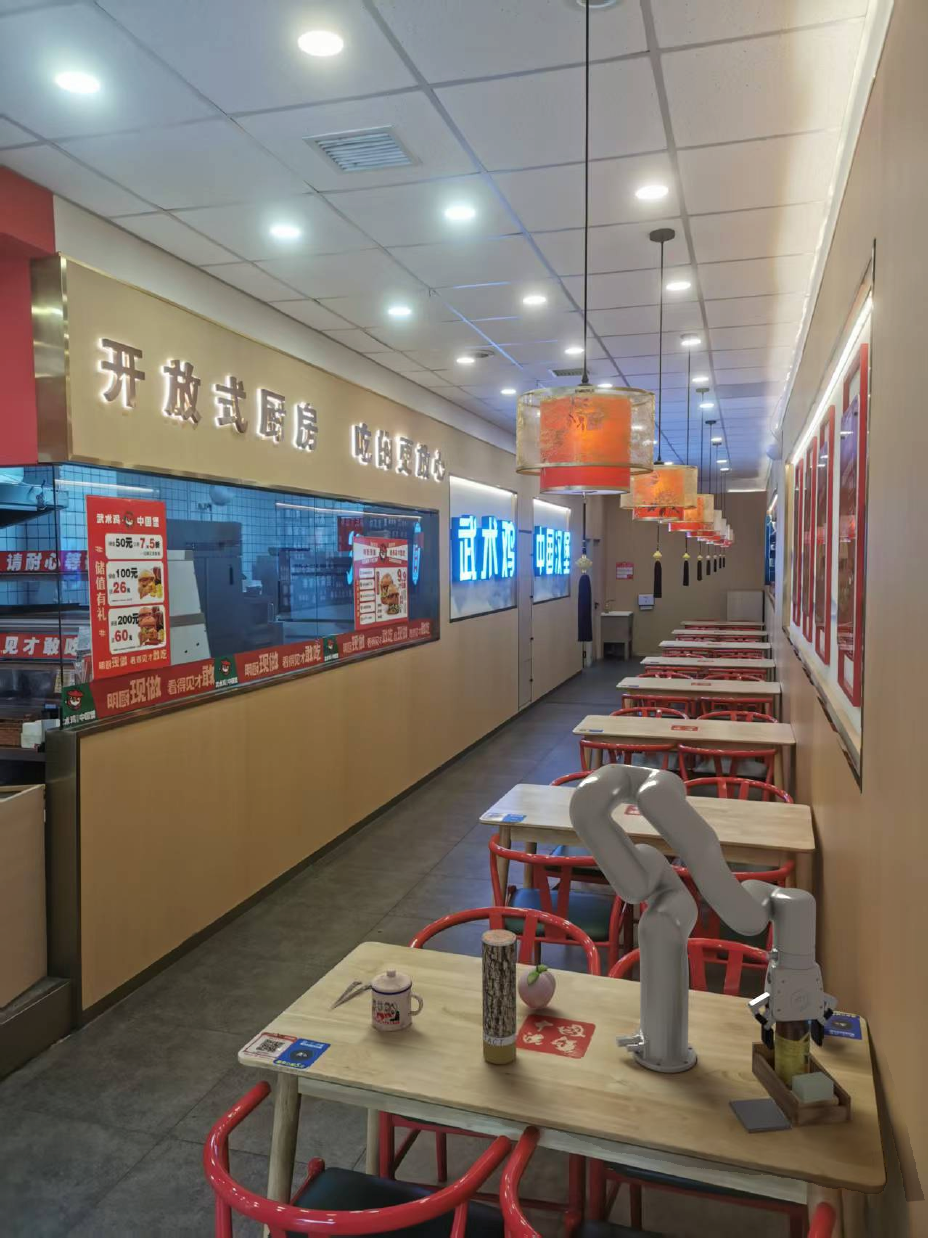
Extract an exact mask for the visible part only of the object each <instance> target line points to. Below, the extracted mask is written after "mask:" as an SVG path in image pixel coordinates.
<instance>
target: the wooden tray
mask: <svg viewBox="0 0 928 1238" xmlns="http://www.w3.org/2000/svg"><path fill="white" fill-rule="evenodd" d="M751 1047H752V1048H751V1052H752V1053H751V1072H752V1074H753V1075H754V1076H755V1077H756V1079H757V1080H758V1081H759V1083H760V1085H762V1087H763V1088H764V1089H765V1091H766V1092H767V1093H768V1095H769V1096H770V1098H771V1099H772V1100H773V1102H774V1103H775V1104H776V1106H777V1107H778V1108H779V1109H780V1111H781V1112H782V1113H783V1115H784V1116H785V1117H786V1119H787V1120H788V1121H789V1123H790V1124H791V1126H792V1127H802V1126H812V1125H813V1126H816V1125H825V1124H837V1123H838V1124H840V1123H847V1122H848V1123H849V1122H851V1117H852V1116H851V1113H852V1112H851V1111H852V1097H851V1095H850V1094H848V1092H847V1091H846V1090H845V1089H844V1088H843V1087H842V1086H841V1084H839V1082H838V1081H837V1080H836V1079H835V1078H834V1077H833V1076H832V1075H831V1074H830V1072H828V1070H827V1069H826V1068H825V1067H824V1066H823V1065H822V1064H821V1062H820V1061H818V1059H817V1058H816V1057H815V1056H814V1055H813V1054H812V1053H811V1052H810V1073H815V1072H823V1073H824V1074H825V1075H826V1076H827V1077H828V1078H829V1079H830V1080H832V1081H833V1082H834V1089H833V1093H834V1094H835V1095H836V1097H837V1098H838V1099H839V1106H834V1107H822V1108H810V1109H798V1104H799V1101H798V1100H797V1099H796V1098H795V1096H794V1095H793V1094H792V1093H791V1092H790V1090H789V1089H788V1088H787V1087H786V1085H785V1084H784V1083H783V1082H782V1080H781V1079H780V1078H779V1077H778V1075H777V1074H776V1073H775V1039H774V1049H773V1050H769V1049H768V1048H767V1046H766V1045H765V1044H764V1043H763V1042H762V1040H760V1041H752V1043H751Z"/></svg>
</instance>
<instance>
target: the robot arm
mask: <svg viewBox="0 0 928 1238" xmlns="http://www.w3.org/2000/svg"><path fill="white" fill-rule="evenodd" d="M687 790H688V789H687V786H686V784H685V782H684V780H683V779H682V778H681V777H680V776H679V775H677V774H676V773H674V772H673V771H669V770H665V769H660V768H658V769H657V768H652V767H644V766H638V765H637V766H636V765H630V764H624V763H623V764H621V763H609V764H605V765H603V766H601V767H599V768H598V769H596V770H594V771H593V772H592V773H590V774H588V775H587V776H586V777H585V778H583V779H582V780H581V781H580V783H578V785H577V787H576V788H575V790H574V792H573V793H572V796H571V798H570V801H569V806H568V807H569V809H568V814H569V820H570V822H571V826H572V828H573V830H574V832H575V833H576V834H577V836H578V838H579V839H580V841H581V842H582V843H583V845H584V846H585V848H586V849H587V851H588V852H589V854H590V855H591V856H592V858H593V860H594V861H595V863H596V864H597V866H598V867H599V869H600V871H601V872H602V874H603V875H604V877H605V879H606V880H607V881H608V882H609V884H610V886H611V887H612V888H613V890H614V891H615V893H616V894H617V896H618V897H619V898H620V899H621V900H622V901H624V902H626V903H627V904H631V905H638V904H641V903H643V902H644V903H645V904H646V906H647V907H646V908H645V909H644V911H643V912H642V914H641V915H640V918H639V922H638V926H637V942H638V950H639V980H640V981H639V982H640V985H639V986H640V989H639V990H640V991H639V992H640V994H639V995H640V996H639V998H640V999H639V1001H640V1002H639V1004H640V1005H639V1006H640V1008H639V1009H640V1010H639V1011H640V1013H639V1014H640V1015H639V1016H640V1017H639V1018H640V1019H639V1022H640V1023H639V1025H640V1026H639V1028H635V1033H632V1034H631V1036H630V1035H629V1036H626V1035H625V1036H623V1035H621V1036H616V1045H617V1047H618V1048H626V1052H627V1053H632V1055H633V1056H632V1057H633V1058H634V1059H635V1061H637V1063H639V1065H641V1066H643V1067H645V1068H646V1069H650V1070H652V1071H656V1072H659V1073H668V1074H669V1073H671V1074H673V1073H680V1072H684V1071H687V1070H689V1069H691V1068H692V1067H693V1066H694V1065H695V1063H696V1062H697V1052H696V1050H695V1048H694V1047H693V1046H692V1044H691V1043H689V1005H690V1004H689V1002H690V1001H689V994H690V993H689V991H690V990H689V987H690V986H689V982H690V981H689V977H690V976H689V975H690V974H689V971H690V970H689V959H688V939H689V937H690V935H691V933H692V931H693V929H694V927H695V925H696V922H697V920H698V915H699V913H698V912H699V911H698V906H697V904H696V900H695V899H694V897H693V895H692V894H691V892H690V890H688V887H687V886H686V885H685V883H684V882H683V881H682V879H681V877H680V876H679V875H678V874H677V872H676V870H675V869H674V868H673V866H672V865H671V864H670V863H671V862H669V860H668V859H667V858H666V856H665V855H664V854H663V853H662V852H661V851H660V850H659V849H657V848H656V847H654V846H652V845H650V844H646V843H637V844H634V842H633V841H632V840H631V838H630V837H629V835H628V834H627V832H626V831H625V830H624V828H623V827H622V826H621V825H620V824H619V823H618V822H617V821H615V819H614V818H613V816H612V813H613V812H614V810H615V809H616V808H617V807H619V806H621V804H626V805H633V806H636V807H637V810H638V811H639V813H640V814H641V815H642V817H643V818H644V819H645V820H646V821H647V822H648V823H649V824H650V826H652V828H653V829H654V830H655V831H656V832H657V833H658V834H659V835H660V836H661V837H662V839H663V840H664V841H665V842H666V843H667V844H668V845H669V846H670V847H671V849H672V850H673V851H674V852H675V853H676V855H678V856H679V858H680V859H681V860H682V862H683V863H684V864H685V866H686V869H687V872H688V873H689V875H690V877H691V879H692V880H693V882H694V884H695V886H696V888H697V889H698V891H699V893H700V894H701V895H702V897H703V899H704V900H705V901H706V902H707V903H708V905H709V906H710V907H711V908H712V909H713V911H714V912H715V913H716V914H717V915H718V917H720V918H721V920H722V921H724V923H725V924H726V925H727V926H728V927H729V928H731V929H732V930H734V931H735V932H736V933H738V934H741V935H743V936H746V937H747V936H749V937H751V936H756V935H759V934H760V933H762V932H763V931H764V930H765V929H766V928H767V925H768V923H769V922H771V923H772V945H771V950H769V951H766V952H765V957H766V959H767V960H769V962H768V966H767V968H766V969H767V970H766V975H765V982H764V989H763V990H764V993H762V994H761V995H759V996H758V997H756V998H755V999H752V1000H751V1001H749V1002H748V1004H747V1007H748V1009H749V1011H750V1012H751V1014H752V1016H753V1017H754V1018H755V1020H756V1021H757V1022H758V1023H759V1024H760V1027H761V1028H760V1029H761V1030H760V1039H761V1040H760V1041H762V1042H763V1043H764V1044H765V1045H766V1046H767V1048H768V1049H769V1050H773V1049H774V1040H775V1030H774V1029H773V1026H774V1024H776V1021H780V1022H787V1021H802V1020H811V1033H810V1039H811V1040H812V1041H813V1042H814V1043H815V1044H816V1045H817V1046H818V1047H823V1046H824V1045H823V1040H824V1039H825V1026H827V1025H828V1021H829V1019H830V1018H831V1017H832V1016H833V1015H834V1011H835V1010H836V1009H835V1008H837V1005H838V1003H839V1001H838V1000H837V998H836V997H834V996H833V995H831V994H828V993H827V992H824V984H823V977H822V971H821V968H820V965H819V963H817V962H816V924H817V923H816V922H817V919H816V918H817V917H816V916H817V913H816V912H817V904H816V903H817V902H816V899H815V897H814V896H813V895H812V893H810V892H809V891H807V890H804V889H801V888H796V887H781V886H779V885H774V884H771V883H769V882H765V881H763V880H760V879H747V880H746V879H745V880H743V881H741V882H740V881H739V880H738V879H737V877H736V876H735V874H733V872H732V871H731V869H730V867H729V865H728V864H727V862H726V859H725V858H724V854H723V851H722V848H721V843H720V838H719V836H718V834H717V833H716V831H715V830H714V829H713V827H712V826H711V825H710V824H709V823H708V822H707V821H706V820H705V819H704V818H703V816H701V815H700V813H699V812H698V811H697V810H696V809H695V808H694V807H693V806H692V805H691V804H690V803H689V801H688V800H687V796H688V791H687ZM824 1001H825V1002H826V1006H824ZM763 1006H764V1011H763V1012H762V1013H761V1012H760V1009H761V1008H762V1007H763ZM834 1009H835V1010H834ZM833 1010H834V1011H833Z"/></svg>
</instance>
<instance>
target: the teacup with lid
mask: <svg viewBox="0 0 928 1238" xmlns="http://www.w3.org/2000/svg"><path fill="white" fill-rule="evenodd" d="M370 983H371V984H370V989H371V1022H372V1025H373V1026H374V1027H375V1028H376V1029H378V1030H380V1031H385V1032H396V1031H400V1030H403V1029H406V1027H407V1028H408V1026H409V1025H410V1024H411V1022H412V1018H413V1017H414V1016H415V1017H416V1016H417V1015H419V1014H420V1013H421V1011H423V1008H424V1001H423V997H422V996H421V995H420V994H418V993H417V992H414V991H412V986H413V981H412V978H411V977H410V976H409V975H408V974H406V973H403V972H401V971H400V972H399V971H396V969H395V968H392V967H389V968H387V969H386V972H383V973H378V974H377V975H375V976H374V977H373V978H372V979H371V982H370ZM412 998H414V999H416V1000H417V1002H418V1008H417V1010H412Z"/></svg>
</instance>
